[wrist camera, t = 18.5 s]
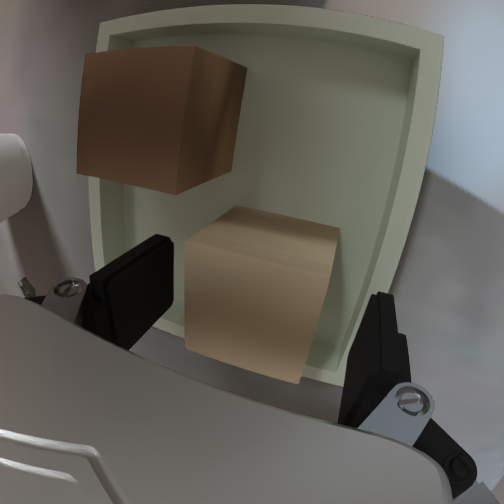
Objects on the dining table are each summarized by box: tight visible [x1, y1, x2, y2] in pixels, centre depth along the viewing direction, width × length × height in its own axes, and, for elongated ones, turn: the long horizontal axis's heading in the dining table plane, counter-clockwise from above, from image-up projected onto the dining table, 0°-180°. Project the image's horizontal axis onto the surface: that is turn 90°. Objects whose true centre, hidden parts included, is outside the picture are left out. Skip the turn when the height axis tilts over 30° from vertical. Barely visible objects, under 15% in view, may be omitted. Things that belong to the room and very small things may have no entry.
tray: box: [88, 4, 444, 387], centre depth 13 cm, size 15×14×3 cm
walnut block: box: [77, 46, 247, 195], centre depth 11 cm, size 4×4×4 cm
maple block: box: [184, 205, 340, 385], centre depth 12 cm, size 4×4×4 cm
